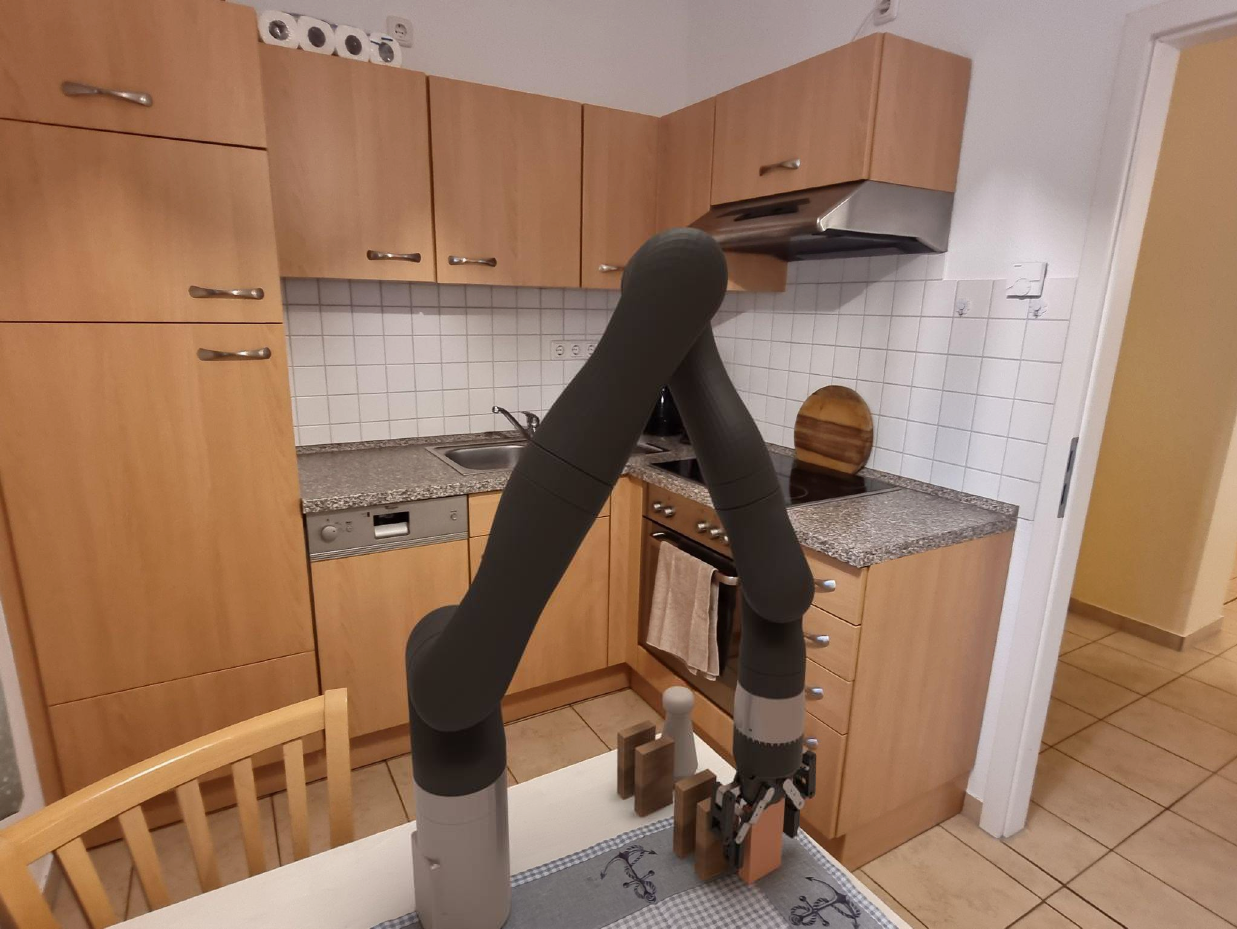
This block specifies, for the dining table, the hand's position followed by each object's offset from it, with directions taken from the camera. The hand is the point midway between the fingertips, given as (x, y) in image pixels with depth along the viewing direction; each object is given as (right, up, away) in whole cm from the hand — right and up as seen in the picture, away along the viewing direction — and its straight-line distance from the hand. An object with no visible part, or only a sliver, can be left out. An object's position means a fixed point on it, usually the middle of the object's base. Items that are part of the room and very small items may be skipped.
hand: (761, 848), depth 78 cm
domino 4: (-5, -3, +1) cm, 6 cm away
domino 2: (-12, -1, +10) cm, 16 cm away
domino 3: (-7, -2, +4) cm, 9 cm away
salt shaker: (-8, 0, +16) cm, 18 cm away
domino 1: (-14, 0, +14) cm, 20 cm away
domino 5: (0, -3, 0) cm, 3 cm away
